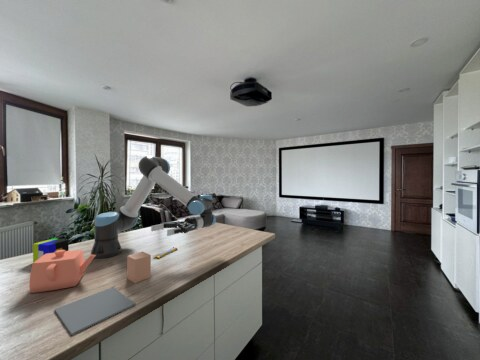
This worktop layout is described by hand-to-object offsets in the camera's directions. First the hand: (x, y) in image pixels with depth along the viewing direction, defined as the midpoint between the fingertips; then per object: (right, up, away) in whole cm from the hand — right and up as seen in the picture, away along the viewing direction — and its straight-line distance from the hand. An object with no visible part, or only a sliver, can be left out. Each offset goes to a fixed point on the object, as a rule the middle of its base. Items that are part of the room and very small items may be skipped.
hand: (159, 230), depth 101 cm
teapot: (-34, -19, -13) cm, 41 cm away
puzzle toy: (-62, -18, +10) cm, 65 cm away
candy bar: (-5, -20, +23) cm, 30 cm away
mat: (-10, -19, -30) cm, 37 cm away
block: (-6, -19, -8) cm, 22 cm away
